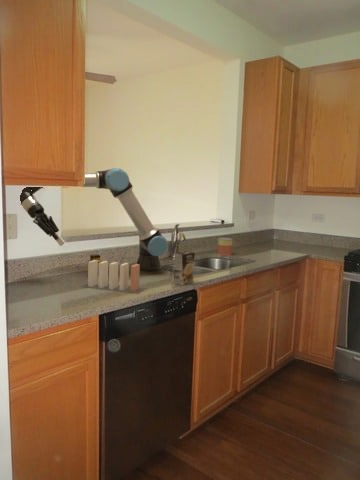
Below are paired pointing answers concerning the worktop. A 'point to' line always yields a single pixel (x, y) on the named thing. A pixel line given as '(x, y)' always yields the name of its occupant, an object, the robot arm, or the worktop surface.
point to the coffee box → (183, 268)
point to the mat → (116, 289)
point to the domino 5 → (134, 278)
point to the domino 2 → (103, 274)
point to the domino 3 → (113, 275)
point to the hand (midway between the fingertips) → (62, 244)
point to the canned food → (224, 246)
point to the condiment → (95, 258)
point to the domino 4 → (124, 276)
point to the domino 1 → (92, 273)
